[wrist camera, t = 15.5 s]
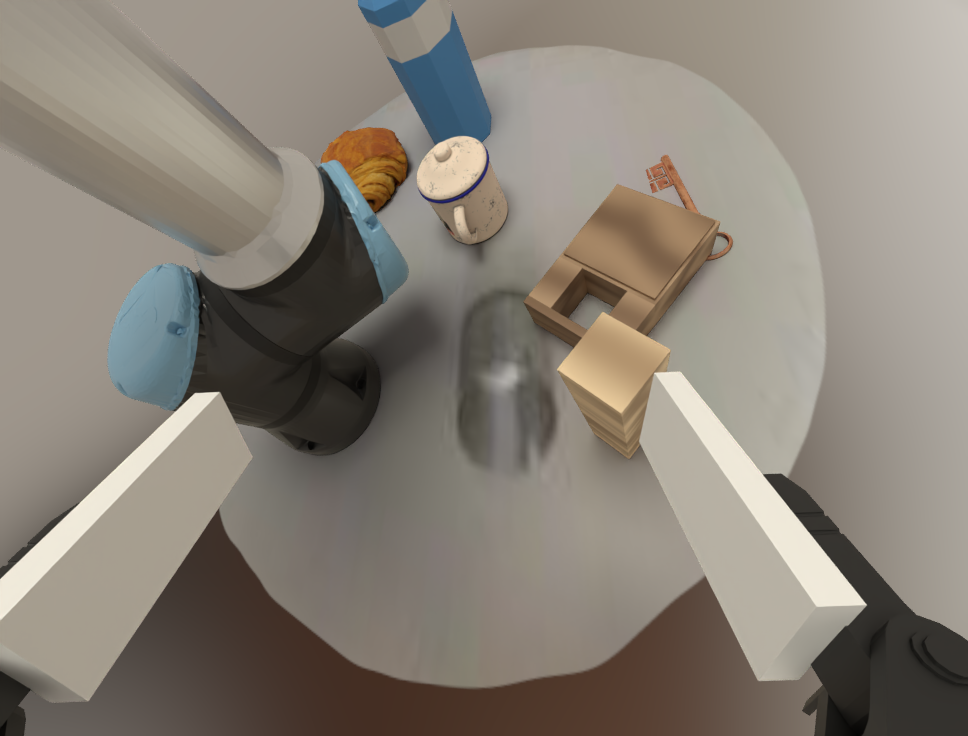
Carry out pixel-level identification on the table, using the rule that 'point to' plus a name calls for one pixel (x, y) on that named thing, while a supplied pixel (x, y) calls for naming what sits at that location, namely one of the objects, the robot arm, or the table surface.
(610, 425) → the wooden key peg
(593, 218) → the wooden sliding lid box
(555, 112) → the table surface
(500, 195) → the teacup with lid
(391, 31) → the water bottle
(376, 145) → the croissant
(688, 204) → the key
